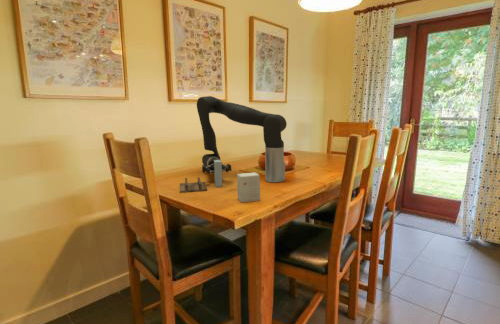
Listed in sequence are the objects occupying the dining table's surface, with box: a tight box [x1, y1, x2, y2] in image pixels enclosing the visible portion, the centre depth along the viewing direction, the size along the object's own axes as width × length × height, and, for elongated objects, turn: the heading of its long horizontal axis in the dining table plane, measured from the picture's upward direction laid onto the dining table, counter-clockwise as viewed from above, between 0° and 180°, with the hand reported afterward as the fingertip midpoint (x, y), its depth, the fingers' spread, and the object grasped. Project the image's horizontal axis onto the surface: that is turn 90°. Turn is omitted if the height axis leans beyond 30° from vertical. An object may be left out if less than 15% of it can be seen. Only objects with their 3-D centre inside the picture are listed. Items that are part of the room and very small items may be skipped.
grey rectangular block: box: [213, 160, 223, 188], centre depth 139 cm, size 3×6×12 cm, turn 13°
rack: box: [179, 176, 208, 194], centre depth 136 cm, size 12×14×3 cm
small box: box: [236, 171, 261, 203], centre depth 116 cm, size 8×6×10 cm
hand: (218, 170), depth 137 cm, fingers open, 8 cm apart
